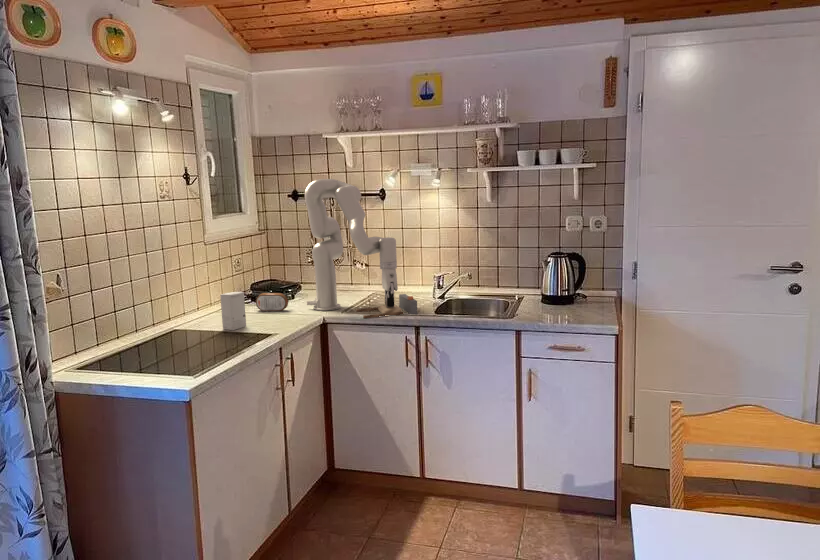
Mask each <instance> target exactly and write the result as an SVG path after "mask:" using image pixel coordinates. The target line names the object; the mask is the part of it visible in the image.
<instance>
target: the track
mask: <svg viewBox="0 0 820 560" xmlns="http://www.w3.org/2000/svg"><path fill="white" fill-rule="evenodd" d="M355 310H356V311H355V312H356V313H362V311H364V312H371V311H372V312H373V311H374V310H375V311H379V310H378V306H377V307H376V306H375V307H366V308H365V307H364V308H356V309H355ZM375 311H374V312H375ZM400 314H403V315H404V311H402V312H394V313H373V314H364V315H362V316H363V319H374V318H380V317H379V316H385V315H396V316H401V315H400ZM385 317H386V316H385Z"/></svg>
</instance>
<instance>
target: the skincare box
mask: <svg viewBox="0 0 820 560" xmlns="http://www.w3.org/2000/svg"><path fill="white" fill-rule="evenodd" d="M219 295H220V305H221V306H220V307H221V310H220V311H221V320H222V321H221V322H222V329H223V330H227V331H235V330H239V329H241V328H245V327H247V318H246V317H247V315H246V305H245V304H246V303H245V302H246V301H245V292H244V291H243V292H242V291H231V292H225V293H221V294H219Z"/></svg>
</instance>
